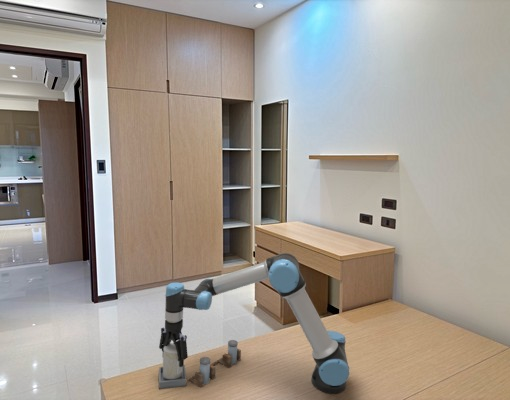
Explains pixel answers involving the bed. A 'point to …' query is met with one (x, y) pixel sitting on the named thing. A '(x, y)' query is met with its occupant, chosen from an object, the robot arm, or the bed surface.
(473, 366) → the bed surface
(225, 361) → the clip rack
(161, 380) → the tray
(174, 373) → the light grey canister
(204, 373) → the grey rounded cylinder
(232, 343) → the fuse
